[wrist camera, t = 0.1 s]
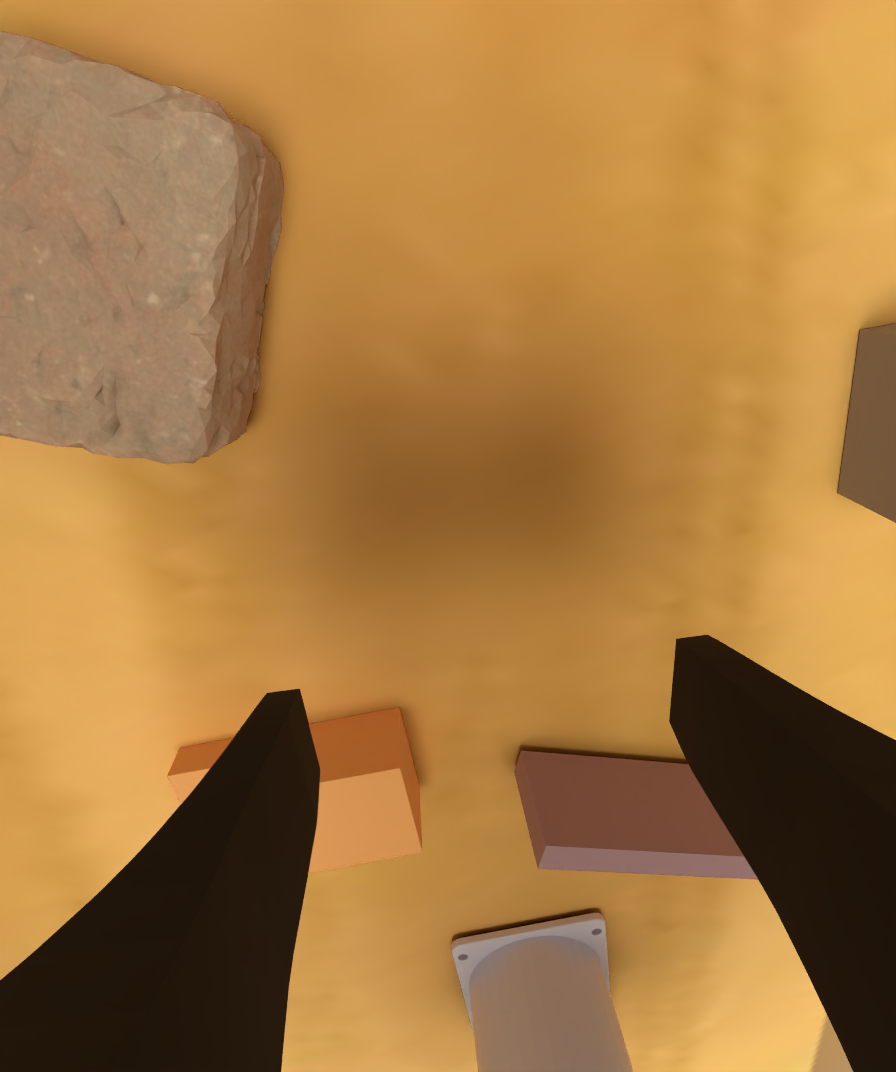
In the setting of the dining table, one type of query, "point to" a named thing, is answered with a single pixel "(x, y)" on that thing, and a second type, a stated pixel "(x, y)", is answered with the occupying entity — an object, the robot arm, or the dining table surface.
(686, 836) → the door
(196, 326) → the brick
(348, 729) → the orange brown block
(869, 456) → the wall frame
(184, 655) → the dining table surface
